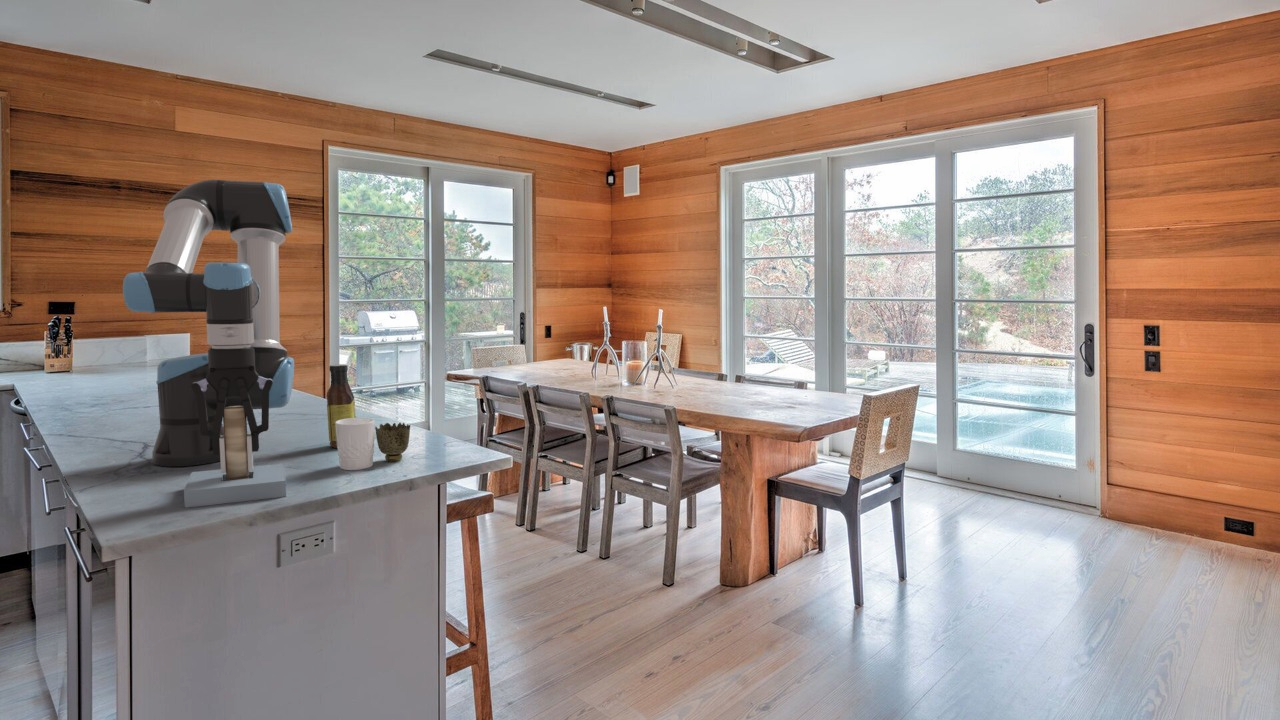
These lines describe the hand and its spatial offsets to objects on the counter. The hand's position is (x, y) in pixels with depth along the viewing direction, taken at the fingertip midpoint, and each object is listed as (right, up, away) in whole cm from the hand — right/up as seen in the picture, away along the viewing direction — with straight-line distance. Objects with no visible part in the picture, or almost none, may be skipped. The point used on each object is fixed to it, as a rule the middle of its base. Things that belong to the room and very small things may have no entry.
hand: (237, 469), depth 136 cm
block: (0, -4, 0) cm, 4 cm away
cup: (+21, -2, +26) cm, 33 cm away
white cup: (+15, -3, +20) cm, 25 cm away
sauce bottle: (+4, 0, +39) cm, 39 cm away
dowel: (0, -4, 0) cm, 4 cm away
